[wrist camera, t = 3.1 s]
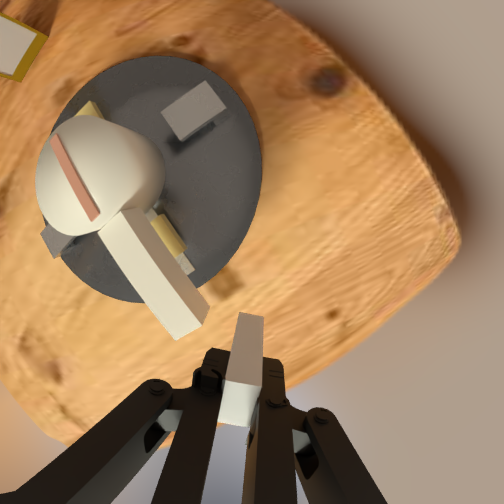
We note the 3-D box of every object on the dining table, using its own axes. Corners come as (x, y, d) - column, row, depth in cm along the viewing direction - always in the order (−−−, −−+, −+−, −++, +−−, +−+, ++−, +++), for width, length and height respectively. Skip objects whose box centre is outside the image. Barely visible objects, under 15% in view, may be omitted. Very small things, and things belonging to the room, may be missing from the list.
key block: (61, 138, 21) (8, 130, 13) (116, 83, 20) (69, 55, 12) (173, 317, 24) (142, 364, 17) (244, 272, 23) (235, 313, 16)
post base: (22, 167, 23) (2, 167, 19) (173, 21, 19) (162, 3, 16) (121, 335, 27) (106, 352, 23) (315, 209, 23) (325, 213, 20)
